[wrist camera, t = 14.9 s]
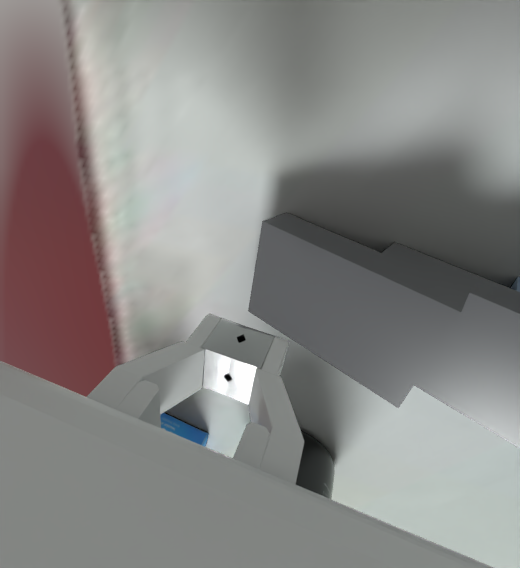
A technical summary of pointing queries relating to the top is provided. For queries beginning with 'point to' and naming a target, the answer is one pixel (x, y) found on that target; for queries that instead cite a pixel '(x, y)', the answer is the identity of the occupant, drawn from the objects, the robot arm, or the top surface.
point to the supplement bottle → (315, 468)
